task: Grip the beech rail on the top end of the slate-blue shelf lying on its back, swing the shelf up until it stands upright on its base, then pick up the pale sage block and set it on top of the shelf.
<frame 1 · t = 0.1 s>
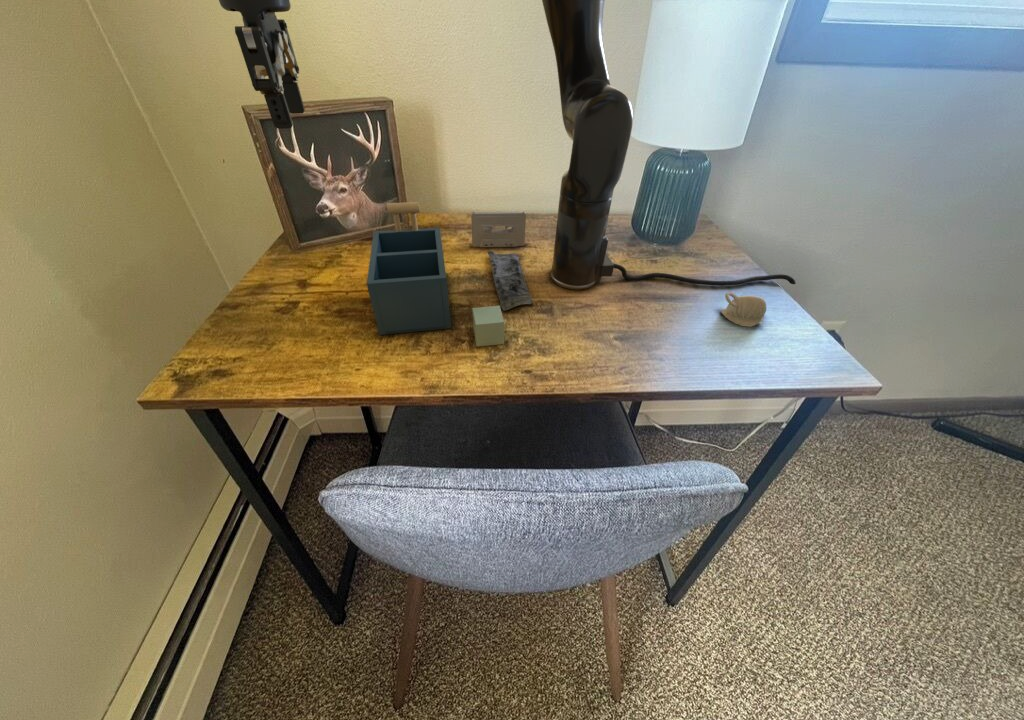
hand: (291, 119, 56), 29 cm above the table, tool pointing down, fingers open, 8 cm apart
decorative ornament: (737, 319, 74), on the table
grey cloth: (510, 281, 82), on the table
block: (488, 336, 68), on the table
shelf: (409, 264, 70), point 8 cm above the table, hinge at 0.0°
cassette: (498, 246, 93), on the table
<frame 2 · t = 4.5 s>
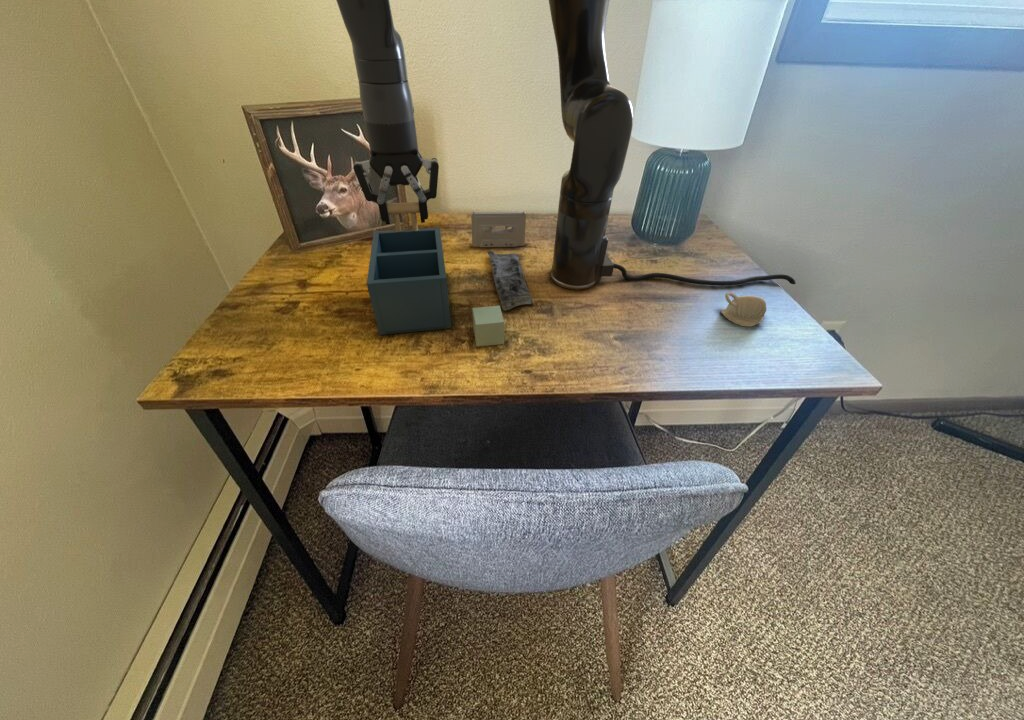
hand: (405, 221, 73), 12 cm above the table, tool pointing down, fingers closed on shelf, 5 cm apart
shelf: (409, 264, 70), point 8 cm above the table, hinge at -0.1°, touching gripper
everything else where it was.
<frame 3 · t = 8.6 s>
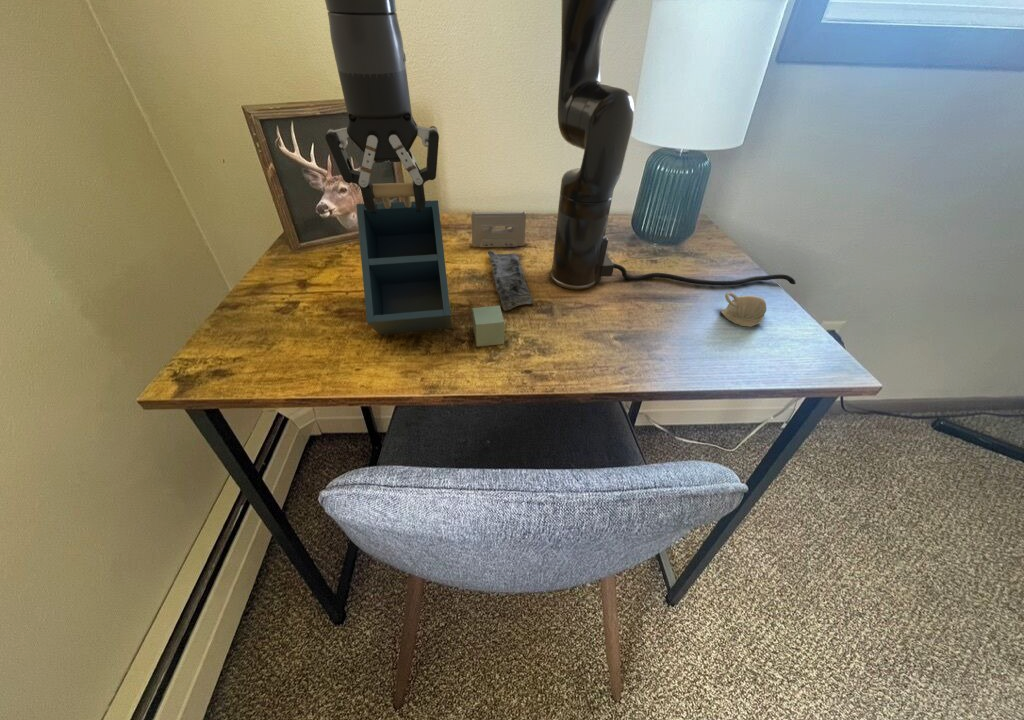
hand: (396, 210, 57), 20 cm above the table, tool pointing down, fingers closed on shelf, 5 cm apart
shelf: (405, 264, 62), point 12 cm above the table, hinge at 40.7°, touching gripper
everything else where it was.
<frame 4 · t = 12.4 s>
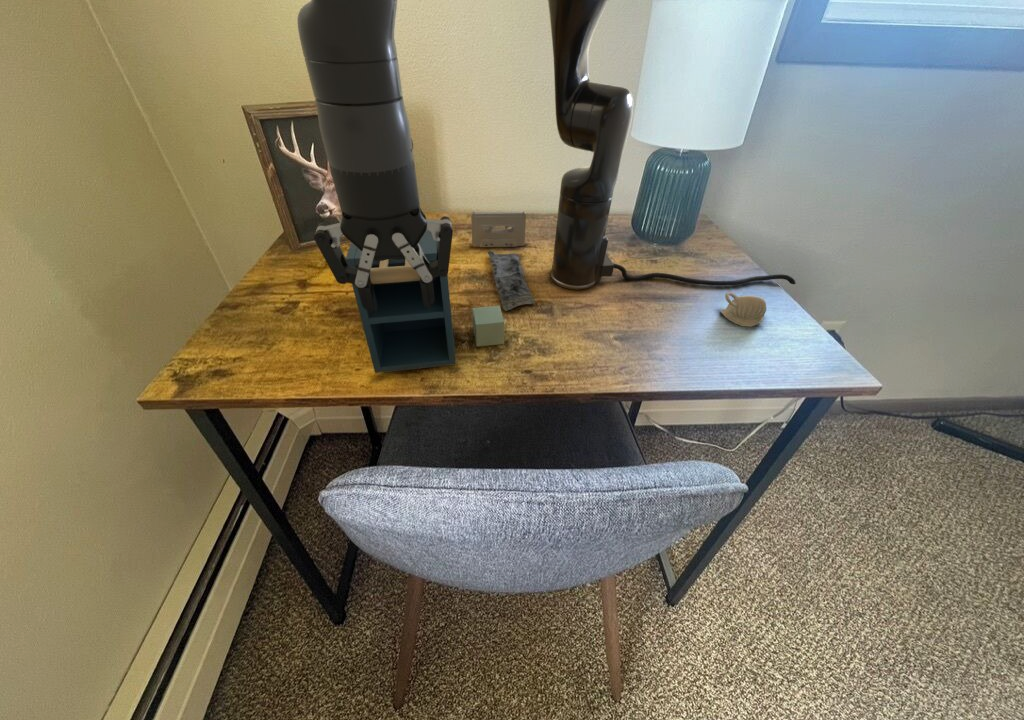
hand: (400, 306, 48), 15 cm above the table, tool pointing down, fingers closed on shelf, 5 cm apart
shelf: (407, 307, 57), point 10 cm above the table, hinge at 84.9°, touching gripper
everything else where it was.
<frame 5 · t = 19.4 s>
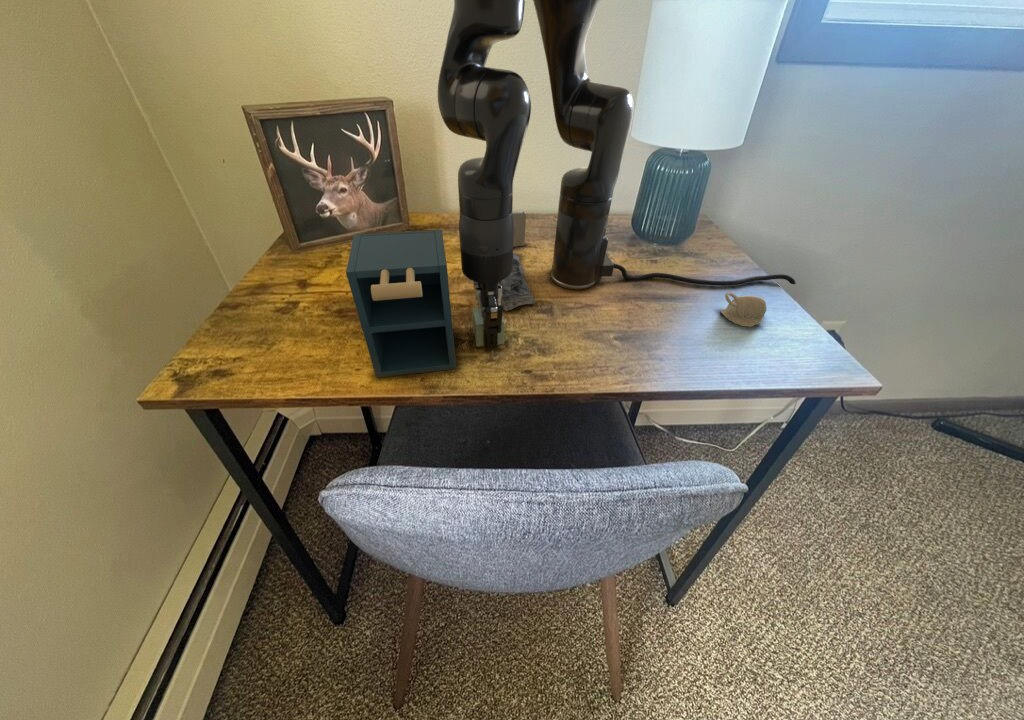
hand: (488, 335, 68), 0 cm above the table, tool pointing down, fingers closed on block, 4 cm apart
block: (488, 336, 68), on the table, touching gripper
shelf: (407, 315, 57), point 9 cm above the table, hinge at 90.0°
everything else where it was.
when the fingers open (18 cm above the table, at t = 26.8 s): block stays where it is, resting on shelf.
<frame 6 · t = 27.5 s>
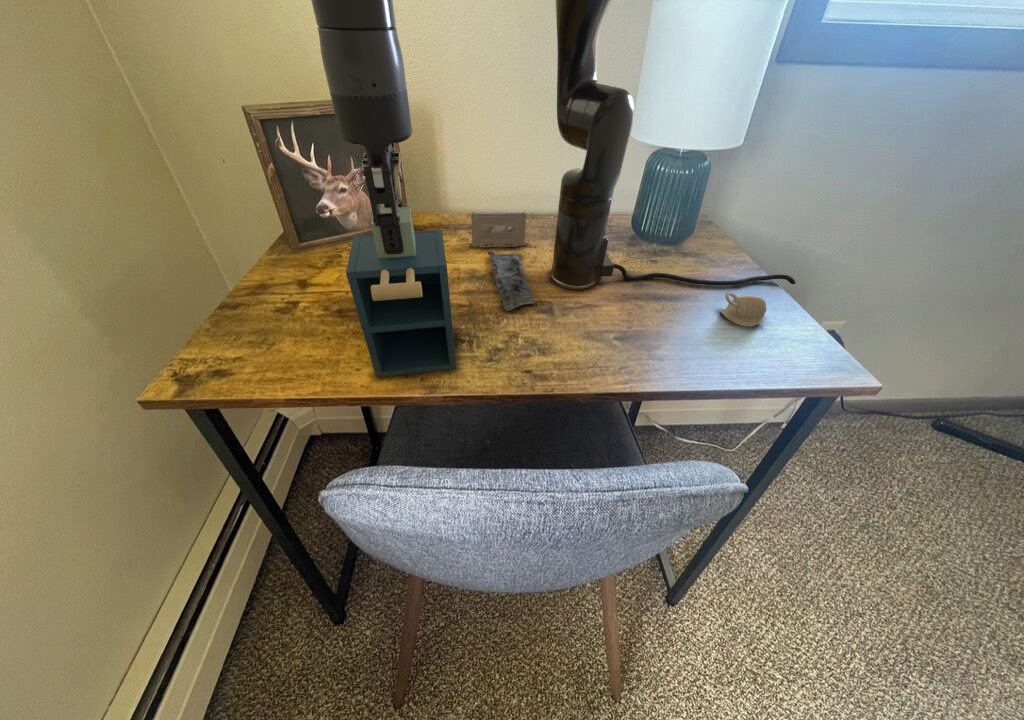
hand: (395, 236, 52), 20 cm above the table, tool pointing down, fingers open, 8 cm apart
block: (397, 249, 53), point 18 cm above the table, touching shelf
shelf: (407, 315, 57), point 9 cm above the table, hinge at 90.1°, touching block
everything else where it was.
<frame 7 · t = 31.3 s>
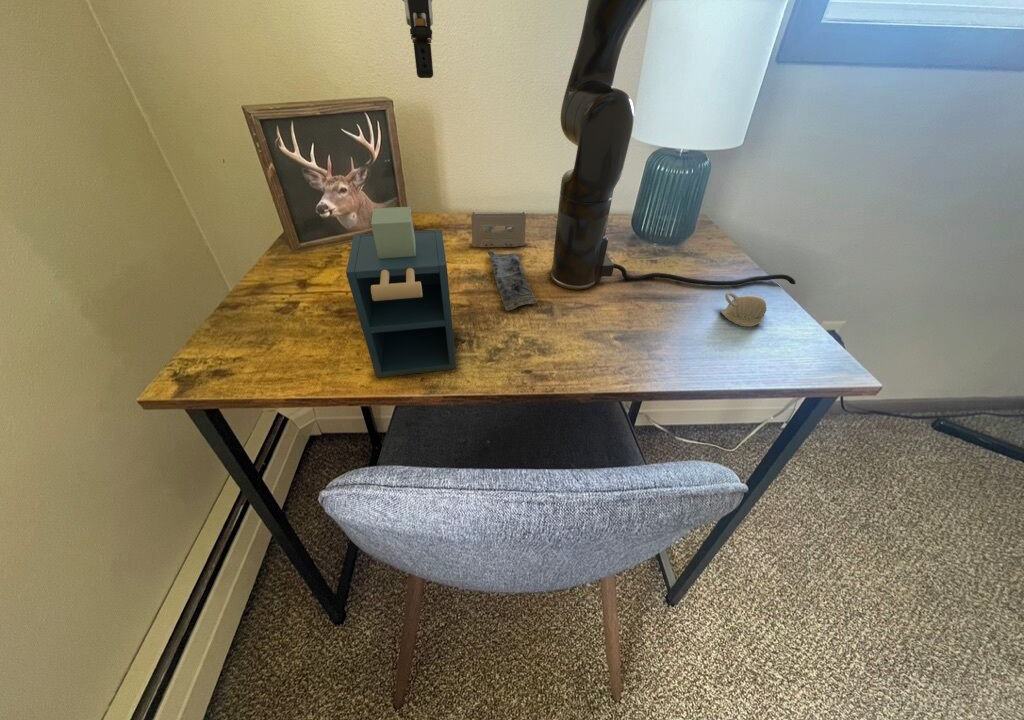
hand: (424, 72, 59), 34 cm above the table, tool pointing down, fingers open, 8 cm apart
nothing on the table moved.
at the end: shelf at +90° (first picture: +0°); block inside the target area on the shelf (0.2 cm from its centre), point 18.1 cm above the shelf's base; block touching shelf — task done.
